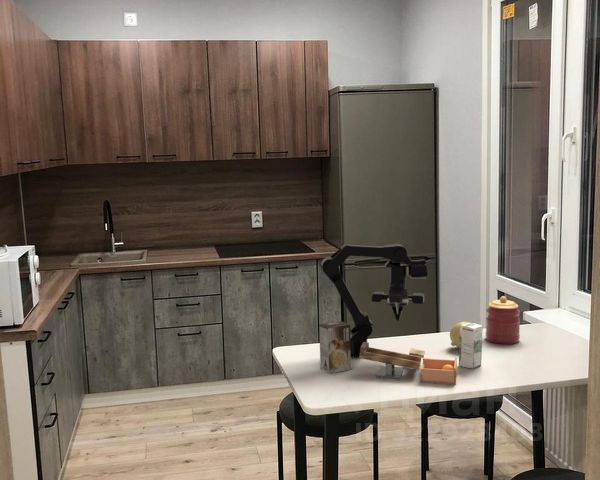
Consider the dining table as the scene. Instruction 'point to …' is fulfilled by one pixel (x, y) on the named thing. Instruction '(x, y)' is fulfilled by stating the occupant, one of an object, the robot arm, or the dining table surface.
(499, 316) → the canister
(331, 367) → the coffee box
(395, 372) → the lever stand
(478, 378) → the dining table surface
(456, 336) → the yellow rounded lump
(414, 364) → the lever
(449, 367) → the ball
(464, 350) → the syrup box
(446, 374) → the orange open box
